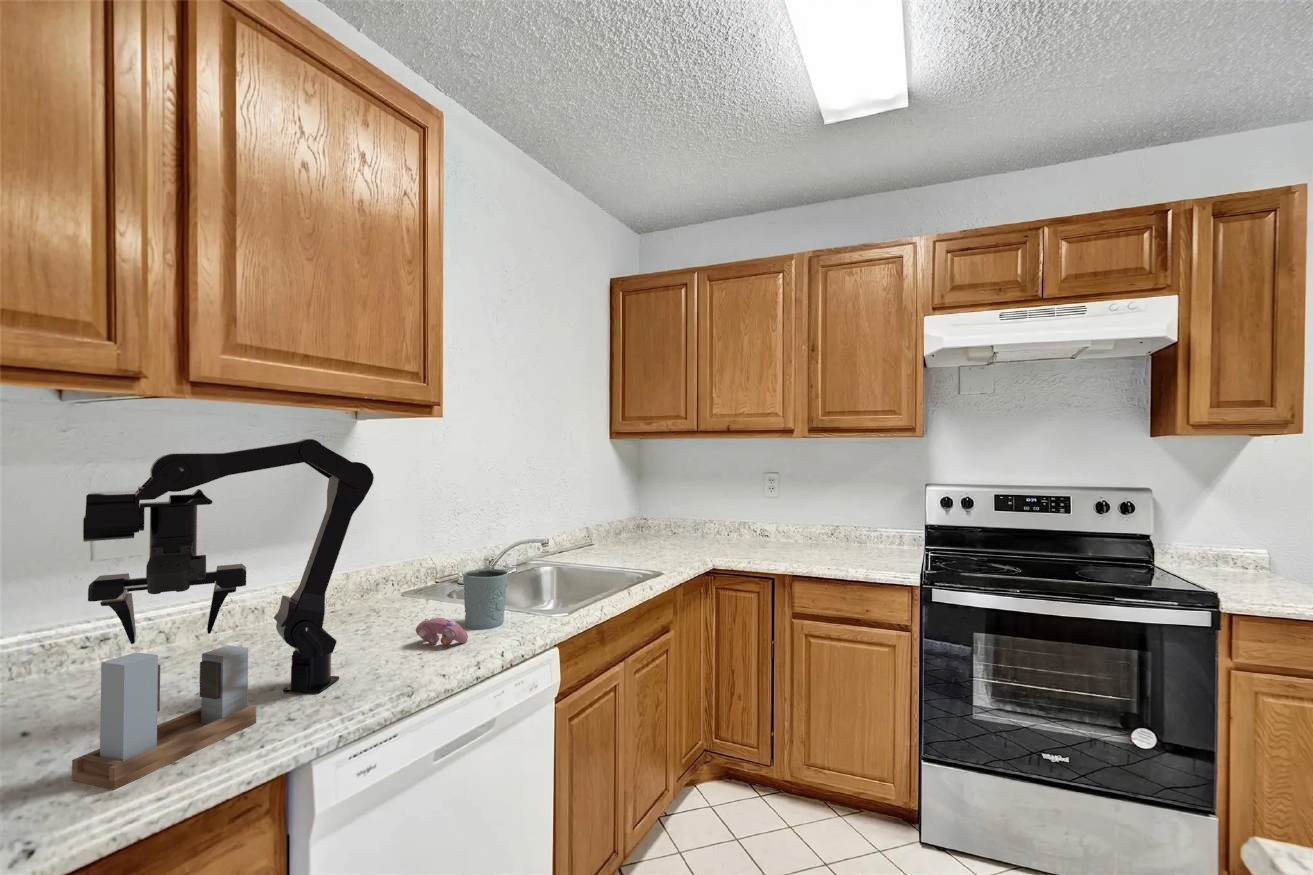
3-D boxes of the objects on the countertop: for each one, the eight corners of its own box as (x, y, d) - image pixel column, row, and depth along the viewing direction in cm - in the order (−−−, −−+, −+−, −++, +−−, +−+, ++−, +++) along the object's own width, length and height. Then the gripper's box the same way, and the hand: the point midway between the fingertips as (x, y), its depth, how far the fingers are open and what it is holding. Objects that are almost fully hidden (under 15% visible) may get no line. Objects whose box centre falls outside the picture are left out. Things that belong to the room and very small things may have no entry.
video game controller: (418, 651, 131) (409, 625, 128) (429, 635, 135) (421, 610, 132) (461, 654, 129) (453, 628, 126) (471, 638, 133) (463, 612, 130)
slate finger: (138, 749, 83) (140, 650, 83) (161, 753, 82) (162, 653, 82) (99, 766, 79) (101, 662, 79) (122, 770, 77) (124, 665, 78)
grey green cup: (460, 620, 149) (461, 570, 149) (504, 616, 153) (504, 567, 153) (465, 632, 139) (465, 578, 139) (511, 627, 143) (511, 574, 143)
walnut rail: (218, 716, 95) (219, 644, 96) (256, 722, 93) (257, 648, 94) (71, 780, 77) (73, 690, 77) (114, 789, 75) (116, 697, 75)
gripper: (80, 547, 84) (78, 665, 84) (247, 536, 94) (245, 641, 94) (96, 537, 93) (94, 643, 93) (246, 529, 103) (245, 623, 103)
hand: (172, 638), depth 95 cm, fingers open, 9 cm apart
